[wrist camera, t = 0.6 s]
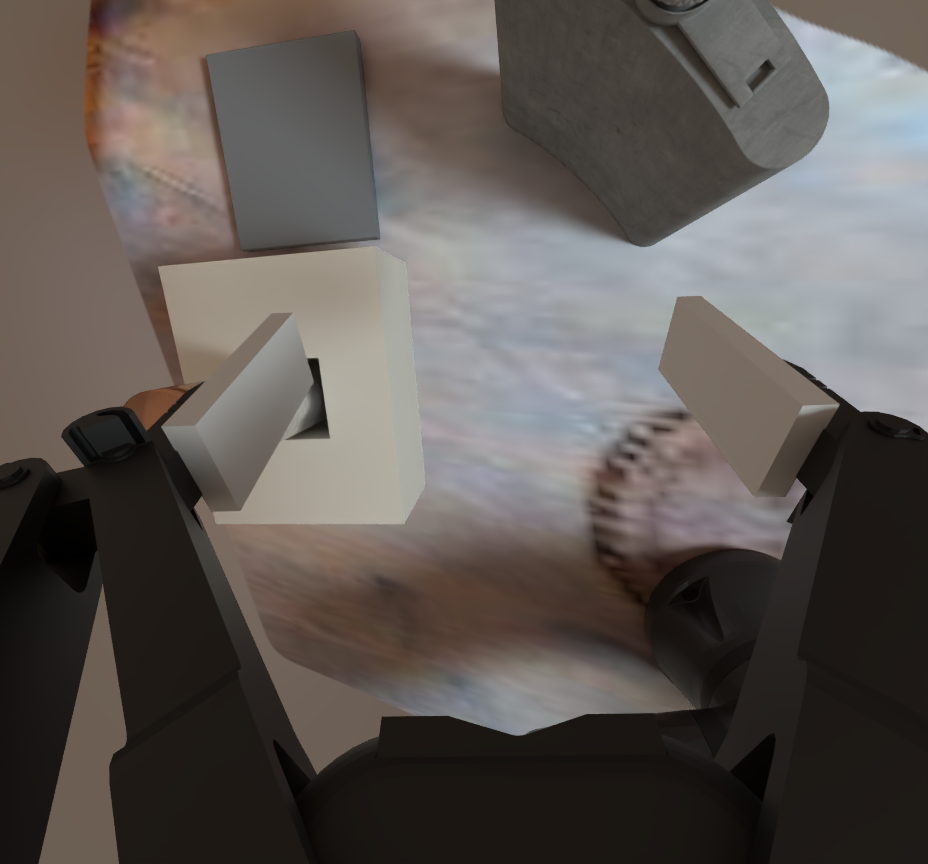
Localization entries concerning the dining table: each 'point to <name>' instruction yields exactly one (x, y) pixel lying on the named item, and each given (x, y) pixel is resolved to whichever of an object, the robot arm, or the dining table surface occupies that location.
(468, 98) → the dining table surface
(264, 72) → the slate mat
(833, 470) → the robot arm
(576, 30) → the hip flask
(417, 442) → the bore block
